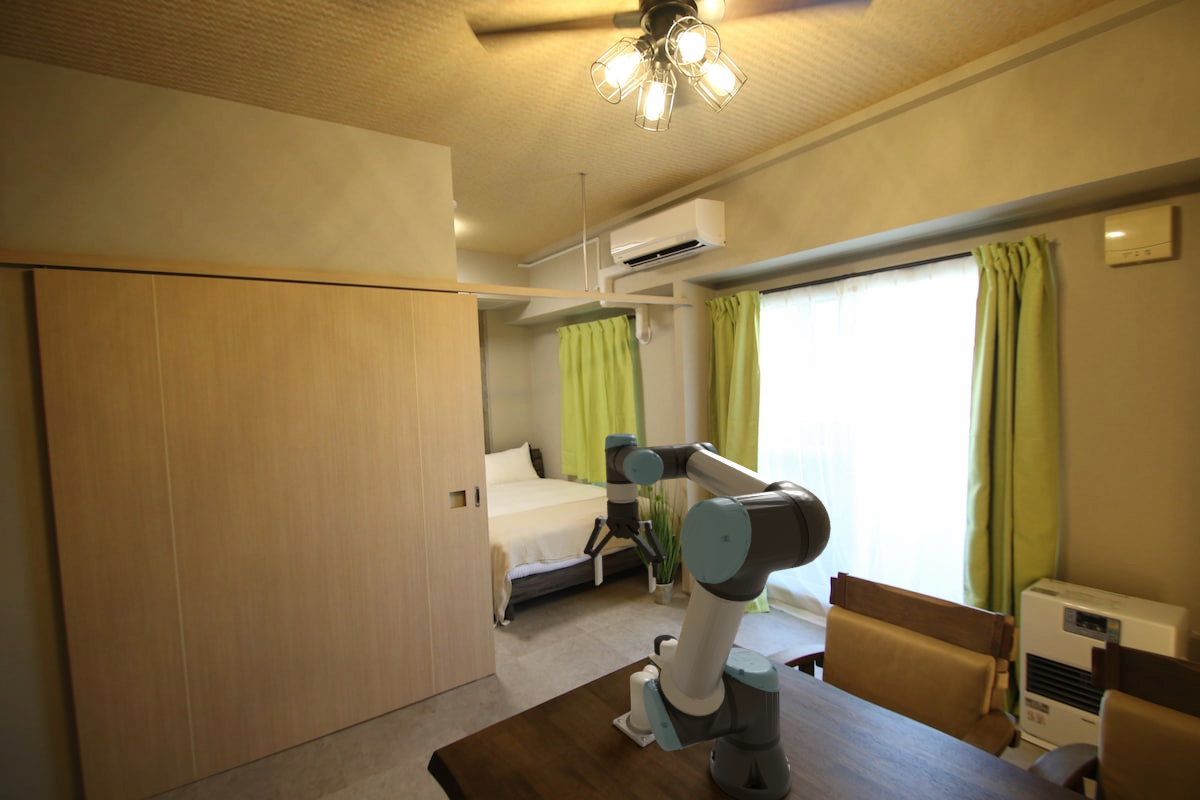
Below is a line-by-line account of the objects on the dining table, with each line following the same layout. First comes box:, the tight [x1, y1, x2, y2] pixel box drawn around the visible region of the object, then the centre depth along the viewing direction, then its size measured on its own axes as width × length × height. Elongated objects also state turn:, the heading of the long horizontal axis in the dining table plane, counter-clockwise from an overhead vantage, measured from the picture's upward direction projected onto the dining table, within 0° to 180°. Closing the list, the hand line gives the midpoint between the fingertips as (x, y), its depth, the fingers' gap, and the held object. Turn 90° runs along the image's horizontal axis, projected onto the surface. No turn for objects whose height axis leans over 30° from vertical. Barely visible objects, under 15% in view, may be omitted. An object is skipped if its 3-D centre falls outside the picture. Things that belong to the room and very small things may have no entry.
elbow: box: [629, 664, 659, 731], centre depth 119 cm, size 9×6×10 cm, turn 157°
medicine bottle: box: [647, 634, 679, 678], centre depth 133 cm, size 7×7×12 cm
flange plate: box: [612, 710, 656, 748], centre depth 118 cm, size 10×10×1 cm
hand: (625, 586), depth 126 cm, fingers open, 13 cm apart
